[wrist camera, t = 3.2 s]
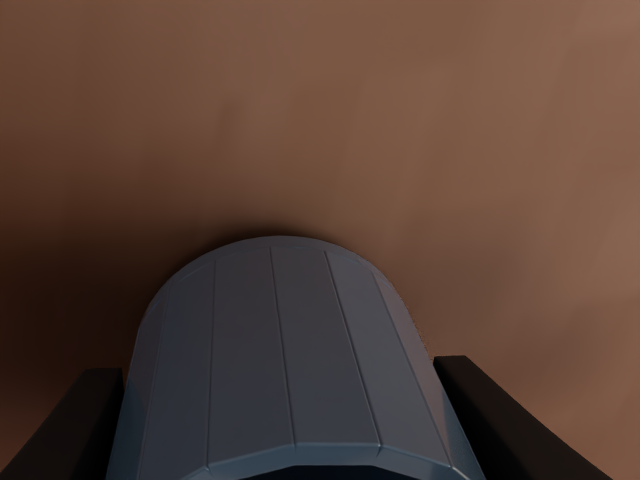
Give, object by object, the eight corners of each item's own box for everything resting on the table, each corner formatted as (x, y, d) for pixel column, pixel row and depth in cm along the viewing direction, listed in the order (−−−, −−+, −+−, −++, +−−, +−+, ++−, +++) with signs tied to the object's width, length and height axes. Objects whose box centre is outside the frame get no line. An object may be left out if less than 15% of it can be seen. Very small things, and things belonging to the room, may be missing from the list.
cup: (272, 491, 14) (293, 755, 10) (72, 361, 12) (-25, 632, 7) (462, 351, 13) (586, 576, 9) (282, 174, 11) (321, 358, 6)
